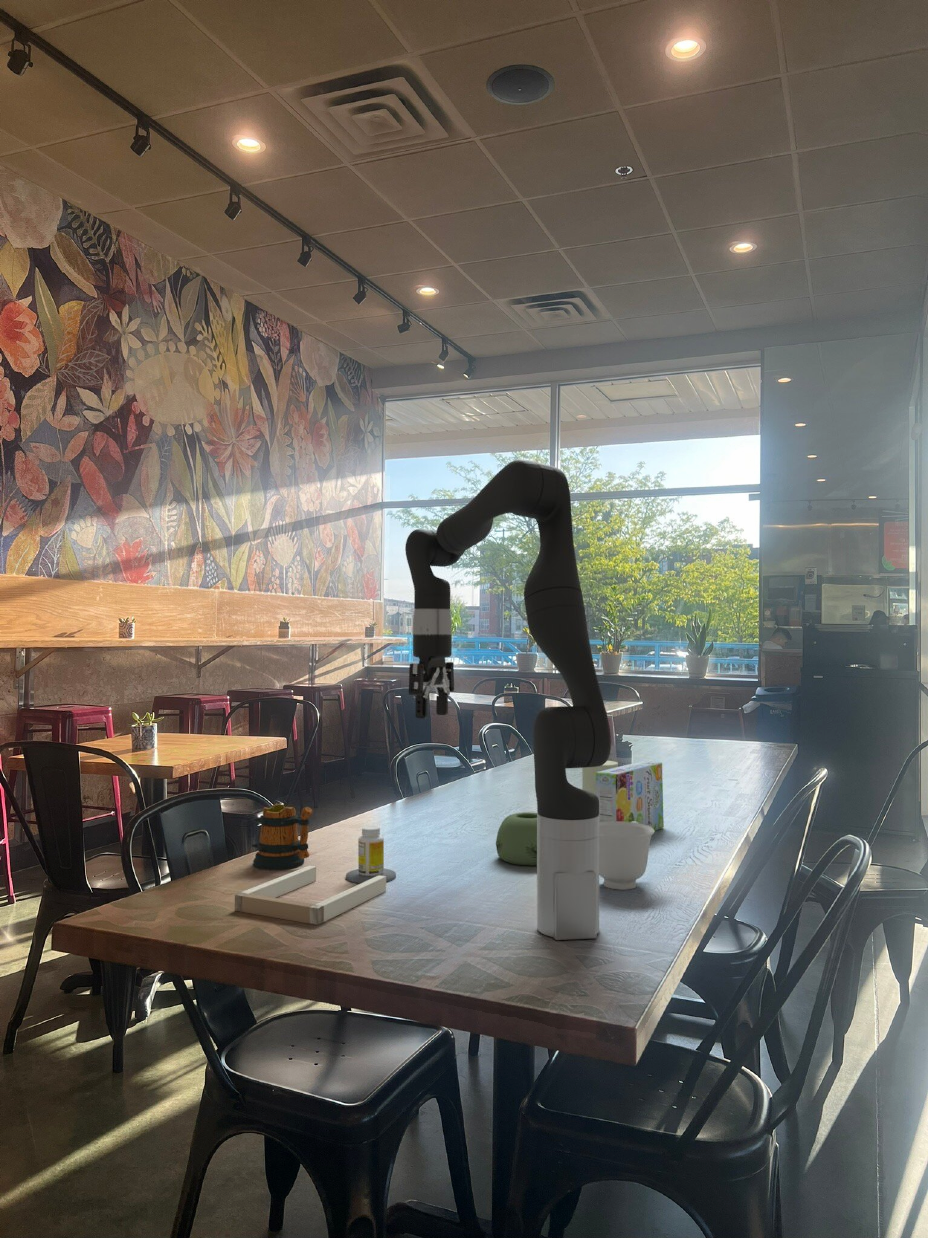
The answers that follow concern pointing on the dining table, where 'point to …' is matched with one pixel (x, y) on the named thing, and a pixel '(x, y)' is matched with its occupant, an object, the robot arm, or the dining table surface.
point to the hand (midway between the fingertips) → (432, 716)
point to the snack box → (631, 794)
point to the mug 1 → (282, 838)
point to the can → (594, 775)
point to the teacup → (623, 853)
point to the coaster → (357, 878)
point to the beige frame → (267, 904)
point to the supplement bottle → (371, 852)
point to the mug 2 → (518, 839)
